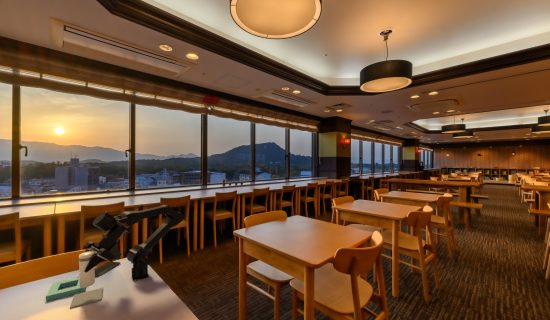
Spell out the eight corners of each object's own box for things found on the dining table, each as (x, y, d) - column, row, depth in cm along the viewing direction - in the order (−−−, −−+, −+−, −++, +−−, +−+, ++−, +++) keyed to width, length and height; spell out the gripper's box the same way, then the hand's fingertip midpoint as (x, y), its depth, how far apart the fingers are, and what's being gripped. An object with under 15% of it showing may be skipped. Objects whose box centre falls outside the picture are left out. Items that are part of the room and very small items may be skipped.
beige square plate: (102, 288, 106) (102, 287, 106) (101, 300, 98) (101, 298, 98) (74, 295, 100) (74, 294, 100) (69, 308, 92) (69, 307, 92)
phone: (121, 262, 131) (97, 275, 116) (121, 264, 131) (97, 278, 116) (108, 261, 132) (83, 274, 117) (108, 263, 132) (83, 276, 117)
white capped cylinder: (90, 279, 102) (90, 250, 102) (97, 282, 100) (96, 252, 100) (76, 285, 98) (76, 255, 97) (83, 288, 96) (82, 257, 95)
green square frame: (87, 279, 114) (87, 274, 114) (84, 291, 104) (84, 287, 104) (53, 286, 107) (53, 282, 107) (45, 301, 97) (45, 296, 97)
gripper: (135, 249, 106) (108, 284, 97) (117, 240, 117) (91, 271, 108) (115, 237, 99) (84, 273, 90) (98, 229, 110) (69, 261, 101)
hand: (82, 270), depth 98 cm, fingers closed on white capped cylinder, 5 cm apart
